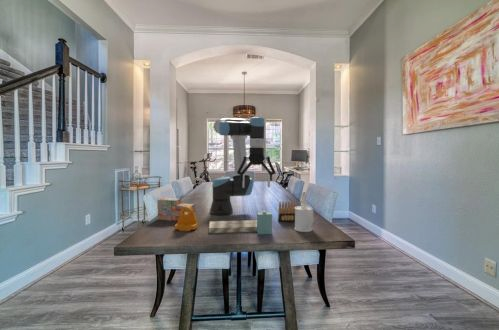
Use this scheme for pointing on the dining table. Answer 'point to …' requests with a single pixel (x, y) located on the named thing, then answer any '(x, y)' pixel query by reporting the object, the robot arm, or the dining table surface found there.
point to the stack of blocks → (171, 208)
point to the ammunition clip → (288, 215)
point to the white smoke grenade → (303, 216)
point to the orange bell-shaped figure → (187, 219)
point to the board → (233, 226)
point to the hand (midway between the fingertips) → (256, 187)
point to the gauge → (264, 223)
